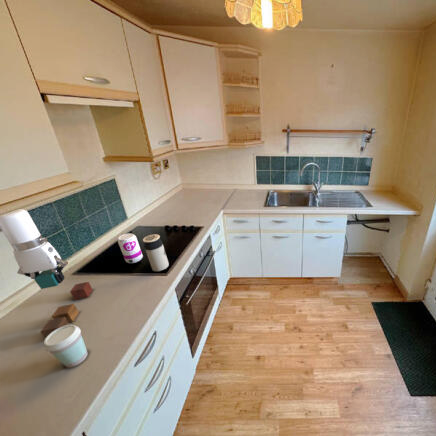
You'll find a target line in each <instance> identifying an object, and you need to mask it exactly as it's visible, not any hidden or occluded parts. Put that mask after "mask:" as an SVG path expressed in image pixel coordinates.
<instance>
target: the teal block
mask: <svg viewBox="0 0 436 436" xmlns="http://www.w3.org/2000/svg"><path fill="white" fill-rule="evenodd" d="M55 269H56V268H55ZM56 270H57V269H56ZM39 273H40V274H39V275H38V276H37V277H36V278H35V280H36V281H35V280H34V281H35V283H36V282H37V283H38V284H37V283H36V284H37V285H38V287H39V286H40V287H39V288H40V290H43V289H48V288H49V289H50V288H53V287H57V286H59V284H60V283H58V282H57V280H56V279H55V277H54V275H55V274H54V273H53V272H52V271H51V270H50V269H49V270H44V271H40V272H39Z"/></svg>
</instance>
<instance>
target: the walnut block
mask: <svg viewBox="0 0 436 436" xmlns="http://www.w3.org/2000/svg"><path fill="white" fill-rule="evenodd" d="M65 325H71V323H68V321H67V319H66V318H65V317H62V318H58V319H53V318H52V319H50V320H47V322H46V323H45V324H44V326H43V327H42V329H41V330H40V333H41V335H42V336H43V337H44V340H45V339H46V337H47V336H48V335H49V334H50V333H52V332H53V331H54V330H56V329H58V328H60V327H62V326H65Z"/></svg>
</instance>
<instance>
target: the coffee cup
mask: <svg viewBox="0 0 436 436" xmlns="http://www.w3.org/2000/svg"><path fill="white" fill-rule="evenodd" d="M43 348H44V351H46V352H49V353H50V354H51V355H52V356H53V357H55V358H56V359H57V360H58V361H59V362H60V363H61V364H62V365H64V366H65V367H66V368H73V367H76V366H78V365H80V364H81V363H82V362H84V360H85V359H87V357H88V355H89V354H88V350H87V346H86V343H85V342H84V339H83V336H82V330H81V328H80V327H79V326H77V325H75V324H70V325H65V326H62V327H60V328H58V329H56V330H54V331H53V332H52V333H50V334H49V335H48V336H47V337H46V339H45V338H44V341H43Z"/></svg>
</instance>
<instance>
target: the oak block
mask: <svg viewBox="0 0 436 436" xmlns="http://www.w3.org/2000/svg"><path fill="white" fill-rule="evenodd" d="M79 312H80V311H79V310H78V308H77V307H76V305H75V303H70V304H66V305H61V306H58V307H57V308H56V310H55V311H54V313H53V314H52V315H51V318H52V320H53V319H58V318H62V317H65V318H66V319H67V321H68V323H69V324H71V323H74V322H75V320H76V318H77V316H78V315H79V314H80V313H79Z"/></svg>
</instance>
